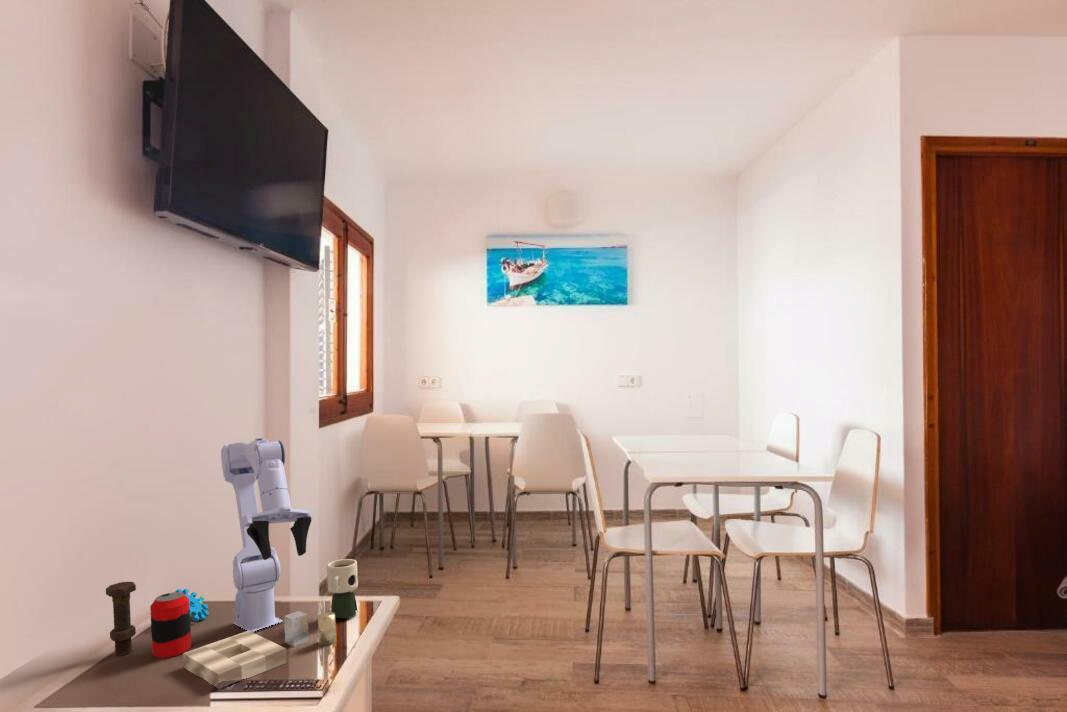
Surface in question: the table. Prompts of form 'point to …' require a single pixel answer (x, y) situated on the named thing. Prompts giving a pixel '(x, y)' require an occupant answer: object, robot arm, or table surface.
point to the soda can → (170, 625)
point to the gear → (196, 605)
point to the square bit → (296, 628)
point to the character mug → (343, 587)
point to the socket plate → (234, 658)
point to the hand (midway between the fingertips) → (285, 556)
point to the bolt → (122, 616)
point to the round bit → (327, 628)
